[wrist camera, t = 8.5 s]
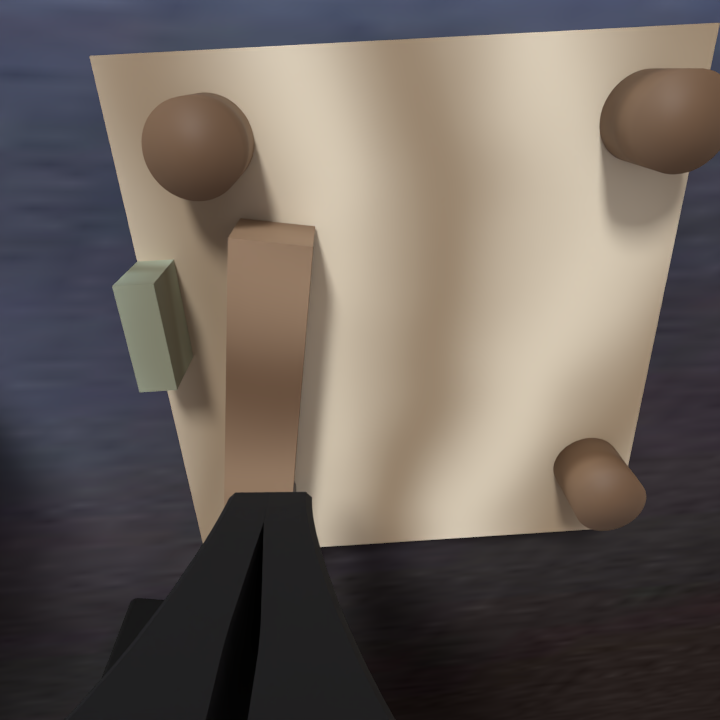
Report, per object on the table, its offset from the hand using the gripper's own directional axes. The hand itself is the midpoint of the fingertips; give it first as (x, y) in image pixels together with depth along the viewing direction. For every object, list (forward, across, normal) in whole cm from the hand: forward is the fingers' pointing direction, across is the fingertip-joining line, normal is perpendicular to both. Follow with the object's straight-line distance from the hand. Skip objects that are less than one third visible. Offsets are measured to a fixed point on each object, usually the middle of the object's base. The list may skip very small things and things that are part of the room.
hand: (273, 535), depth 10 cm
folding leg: (+8, +1, +1) cm, 8 cm away
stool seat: (+9, -3, 0) cm, 10 cm away
